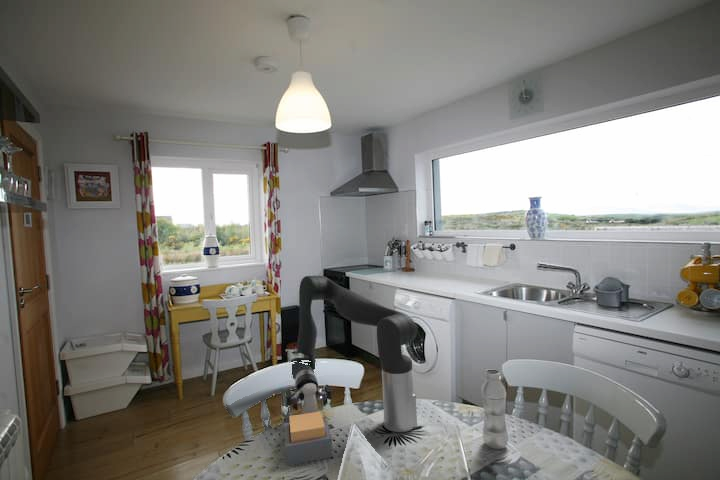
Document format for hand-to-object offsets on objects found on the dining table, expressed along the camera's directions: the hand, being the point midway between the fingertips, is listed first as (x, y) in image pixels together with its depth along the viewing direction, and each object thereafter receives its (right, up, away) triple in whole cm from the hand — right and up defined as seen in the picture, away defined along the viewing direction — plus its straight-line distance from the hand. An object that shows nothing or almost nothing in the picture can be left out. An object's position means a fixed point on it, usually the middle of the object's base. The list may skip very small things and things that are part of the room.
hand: (310, 405), depth 112 cm
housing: (0, -8, -9) cm, 12 cm away
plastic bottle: (+51, -6, -12) cm, 53 cm away
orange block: (0, -4, -9) cm, 10 cm away
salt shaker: (0, -8, +2) cm, 8 cm away
